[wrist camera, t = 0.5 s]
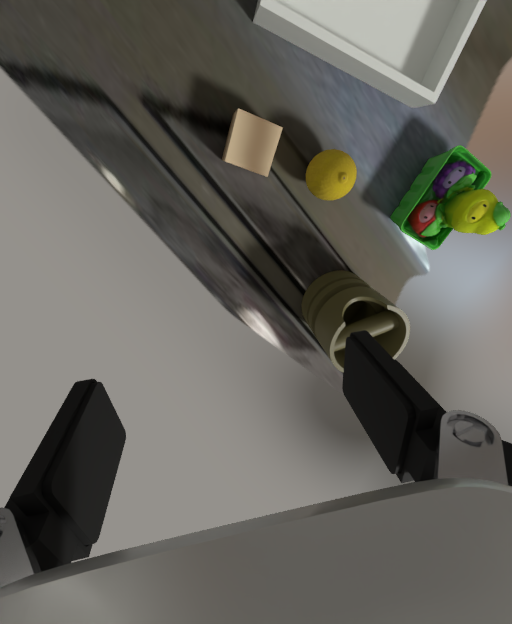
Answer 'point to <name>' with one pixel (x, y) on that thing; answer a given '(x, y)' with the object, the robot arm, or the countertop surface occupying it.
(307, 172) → the lemon
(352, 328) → the piston
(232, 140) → the cube
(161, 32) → the countertop surface
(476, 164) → the fruit basket
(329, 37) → the tray
